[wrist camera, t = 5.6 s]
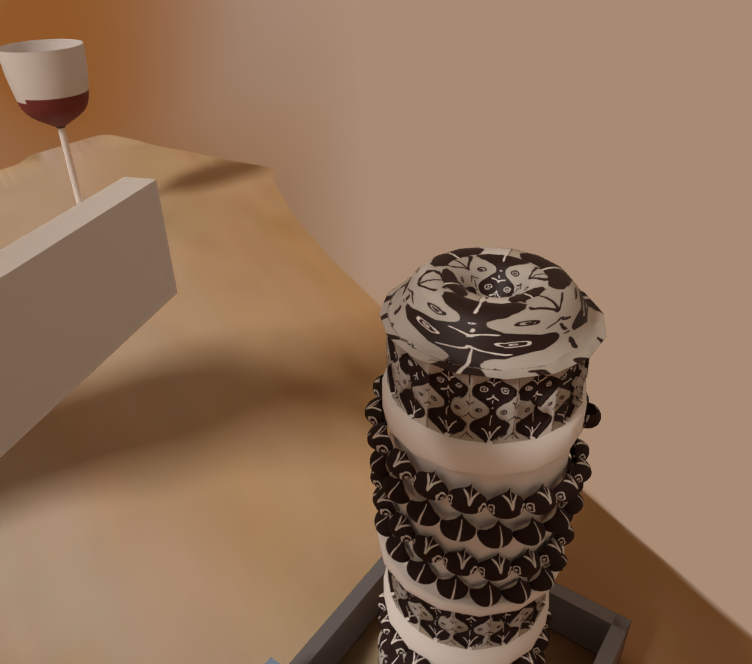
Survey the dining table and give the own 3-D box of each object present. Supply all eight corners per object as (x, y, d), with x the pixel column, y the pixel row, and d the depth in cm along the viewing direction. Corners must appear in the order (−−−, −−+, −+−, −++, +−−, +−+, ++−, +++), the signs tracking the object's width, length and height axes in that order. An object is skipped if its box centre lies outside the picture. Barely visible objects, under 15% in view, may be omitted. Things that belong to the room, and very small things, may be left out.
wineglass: (41, 215, 95) (-8, 44, 84) (112, 201, 99) (75, 36, 88) (51, 237, 89) (0, 55, 77) (127, 222, 93) (89, 46, 81)
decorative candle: (408, 589, 43) (416, 210, 30) (558, 643, 40) (642, 245, 27) (343, 726, 36) (315, 309, 23) (519, 805, 33) (607, 373, 19)
